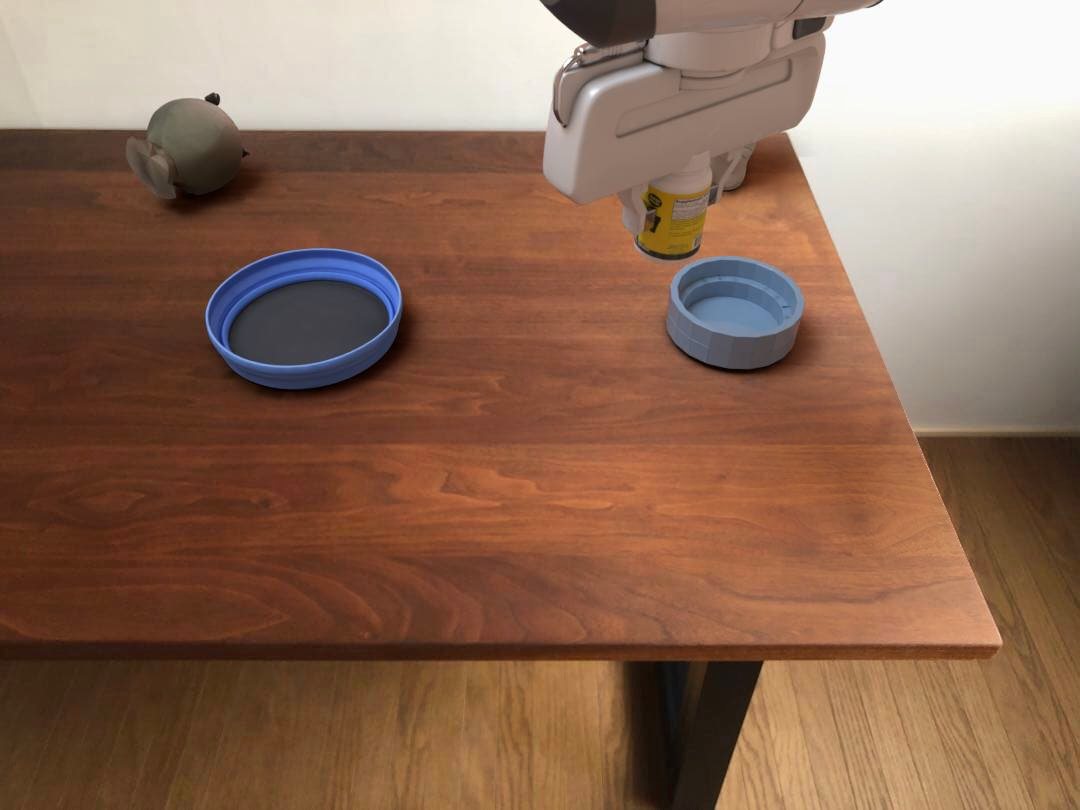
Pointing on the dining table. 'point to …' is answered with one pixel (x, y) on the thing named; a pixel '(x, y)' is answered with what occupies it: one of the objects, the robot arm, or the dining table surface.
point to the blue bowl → (734, 312)
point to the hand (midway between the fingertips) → (671, 214)
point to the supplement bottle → (677, 213)
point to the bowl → (305, 317)
